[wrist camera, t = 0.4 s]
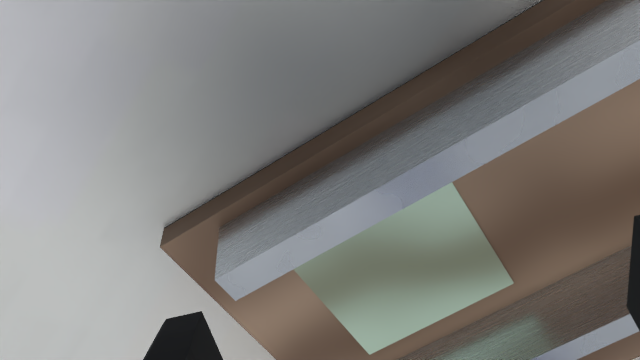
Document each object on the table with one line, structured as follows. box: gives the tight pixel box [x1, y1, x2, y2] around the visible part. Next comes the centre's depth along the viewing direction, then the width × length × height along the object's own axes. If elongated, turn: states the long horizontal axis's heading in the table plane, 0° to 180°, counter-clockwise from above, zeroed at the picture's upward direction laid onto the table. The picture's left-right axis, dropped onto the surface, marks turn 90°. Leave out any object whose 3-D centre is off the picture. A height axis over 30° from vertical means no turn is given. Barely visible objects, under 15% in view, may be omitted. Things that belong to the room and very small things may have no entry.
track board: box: [160, 0, 640, 360], centre depth 21 cm, size 16×26×1 cm, turn 122°
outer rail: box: [215, 0, 640, 301], centre depth 19 cm, size 14×22×2 cm, turn 122°
